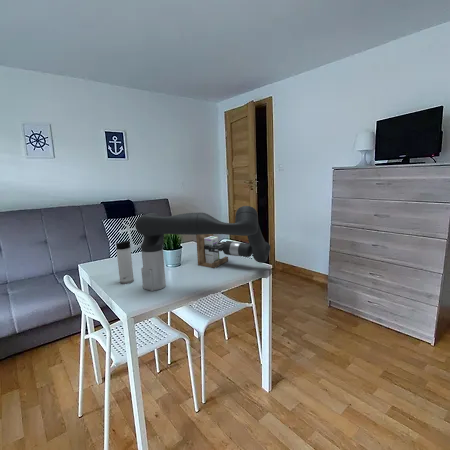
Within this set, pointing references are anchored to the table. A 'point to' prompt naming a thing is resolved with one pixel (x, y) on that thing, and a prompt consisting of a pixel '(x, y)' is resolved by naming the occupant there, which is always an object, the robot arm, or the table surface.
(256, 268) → the table surface
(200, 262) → the board
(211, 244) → the syrup box
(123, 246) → the travel mug
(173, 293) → the table surface
